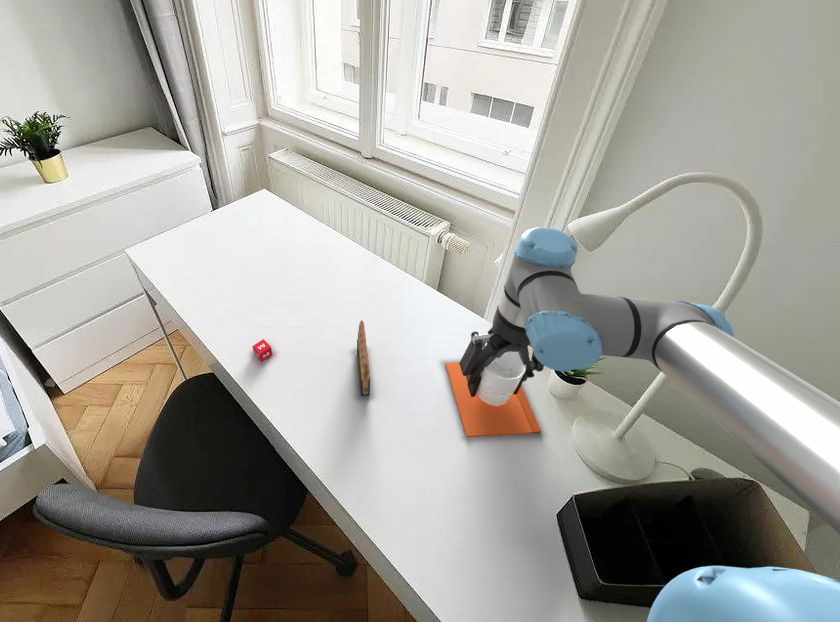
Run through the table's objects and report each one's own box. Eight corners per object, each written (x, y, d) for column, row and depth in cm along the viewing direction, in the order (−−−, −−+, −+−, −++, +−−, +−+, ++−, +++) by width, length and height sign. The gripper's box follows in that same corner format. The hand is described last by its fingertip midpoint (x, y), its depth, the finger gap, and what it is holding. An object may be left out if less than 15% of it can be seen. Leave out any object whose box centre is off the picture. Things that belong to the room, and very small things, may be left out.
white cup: (486, 366, 85) (496, 336, 79) (520, 392, 80) (534, 362, 74) (463, 389, 81) (472, 358, 75) (497, 417, 76) (510, 387, 70)
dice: (261, 362, 90) (259, 354, 88) (254, 354, 92) (252, 346, 90) (272, 355, 91) (271, 346, 89) (265, 347, 93) (263, 338, 91)
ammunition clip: (356, 352, 91) (356, 317, 84) (365, 352, 91) (365, 316, 84) (360, 396, 83) (361, 361, 75) (369, 395, 83) (371, 360, 75)
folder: (540, 433, 76) (541, 431, 76) (466, 437, 76) (466, 435, 76) (508, 360, 89) (509, 358, 88) (445, 364, 88) (445, 362, 88)
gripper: (572, 292, 69) (534, 370, 84) (453, 298, 69) (436, 375, 83) (595, 327, 64) (551, 404, 78) (465, 334, 63) (445, 410, 78)
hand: (491, 389), depth 81 cm, fingers closed on white cup, 8 cm apart
